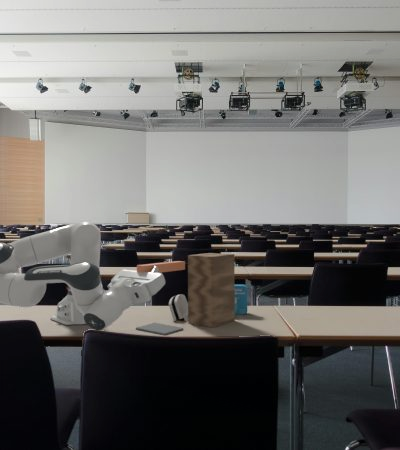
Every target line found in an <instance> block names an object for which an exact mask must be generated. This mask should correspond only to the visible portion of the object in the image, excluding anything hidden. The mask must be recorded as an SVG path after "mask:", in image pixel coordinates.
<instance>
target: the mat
mask: <svg viewBox="0 0 400 450" xmlns="http://www.w3.org/2000/svg"><path fill="white" fill-rule="evenodd" d="M135 330H137V331H142V332H148V333H152V334H157V335H161V336H167V335H170V334H171V335H172V334H173V333H176V332H180V331H183V330H184V327H181V326H175V325H170V324H163V323H158V322H152V323H148V324H145V325H144V324H143V325H141V326H137V327H135Z"/></svg>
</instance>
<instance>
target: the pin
mask: <svg viewBox="0 0 400 450" xmlns="http://www.w3.org/2000/svg"><path fill="white" fill-rule="evenodd" d="M153 266H157V267H158V269H159V270H158V271H157V272H156V273H168V272H176V271H183V270H186V261H181V260H175V261H167V262H157V263H156V262H155V263H146V264H137V265H136V270H137V272H141V273H143V272H150V271H152V270H151V268H152V267H153Z"/></svg>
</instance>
